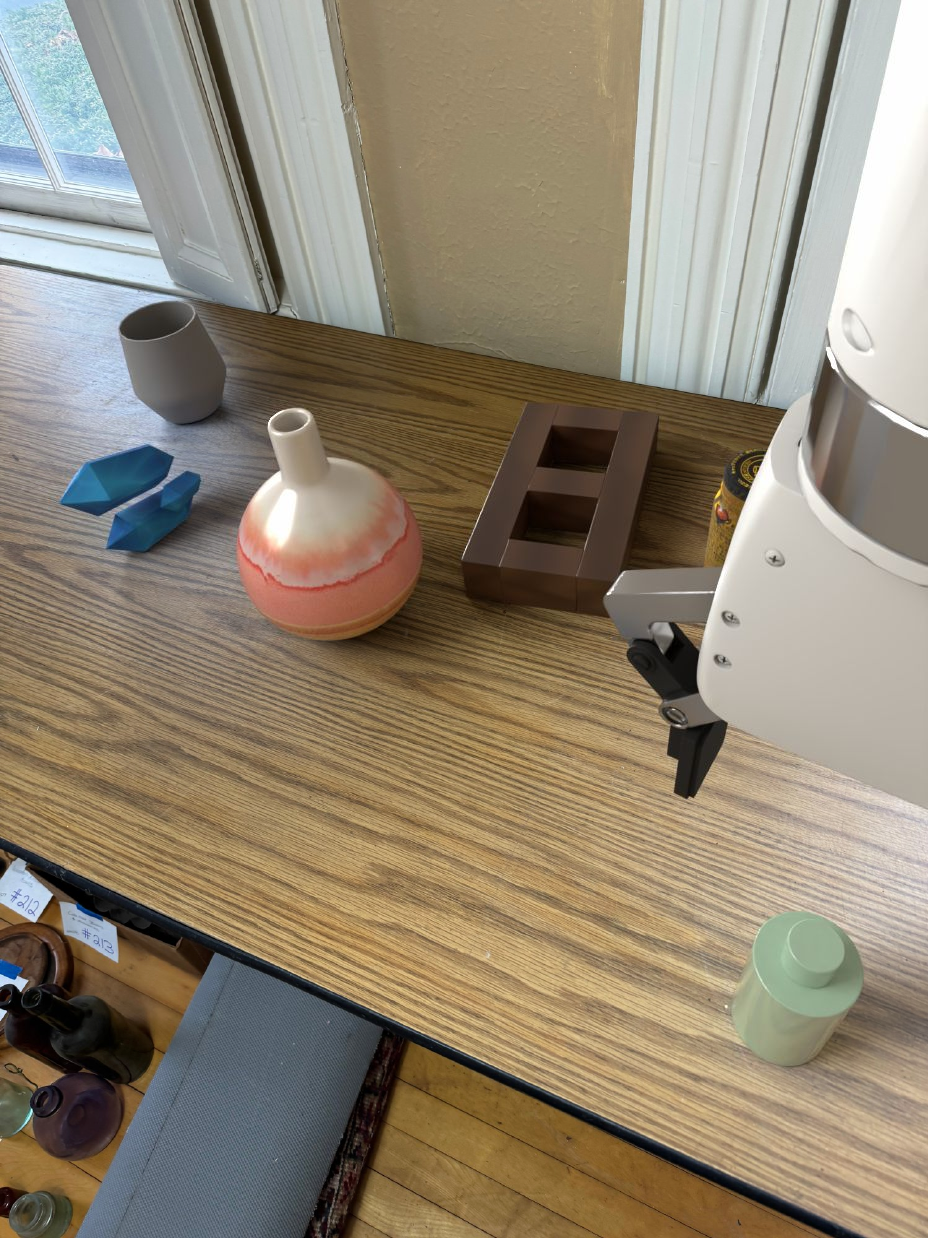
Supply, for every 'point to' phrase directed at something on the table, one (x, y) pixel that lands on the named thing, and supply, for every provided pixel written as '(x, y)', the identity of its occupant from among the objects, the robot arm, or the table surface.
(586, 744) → the table surface
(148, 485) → the blue crystals
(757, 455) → the condiment
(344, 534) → the vase
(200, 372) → the cup
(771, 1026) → the bottle
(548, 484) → the peg block
